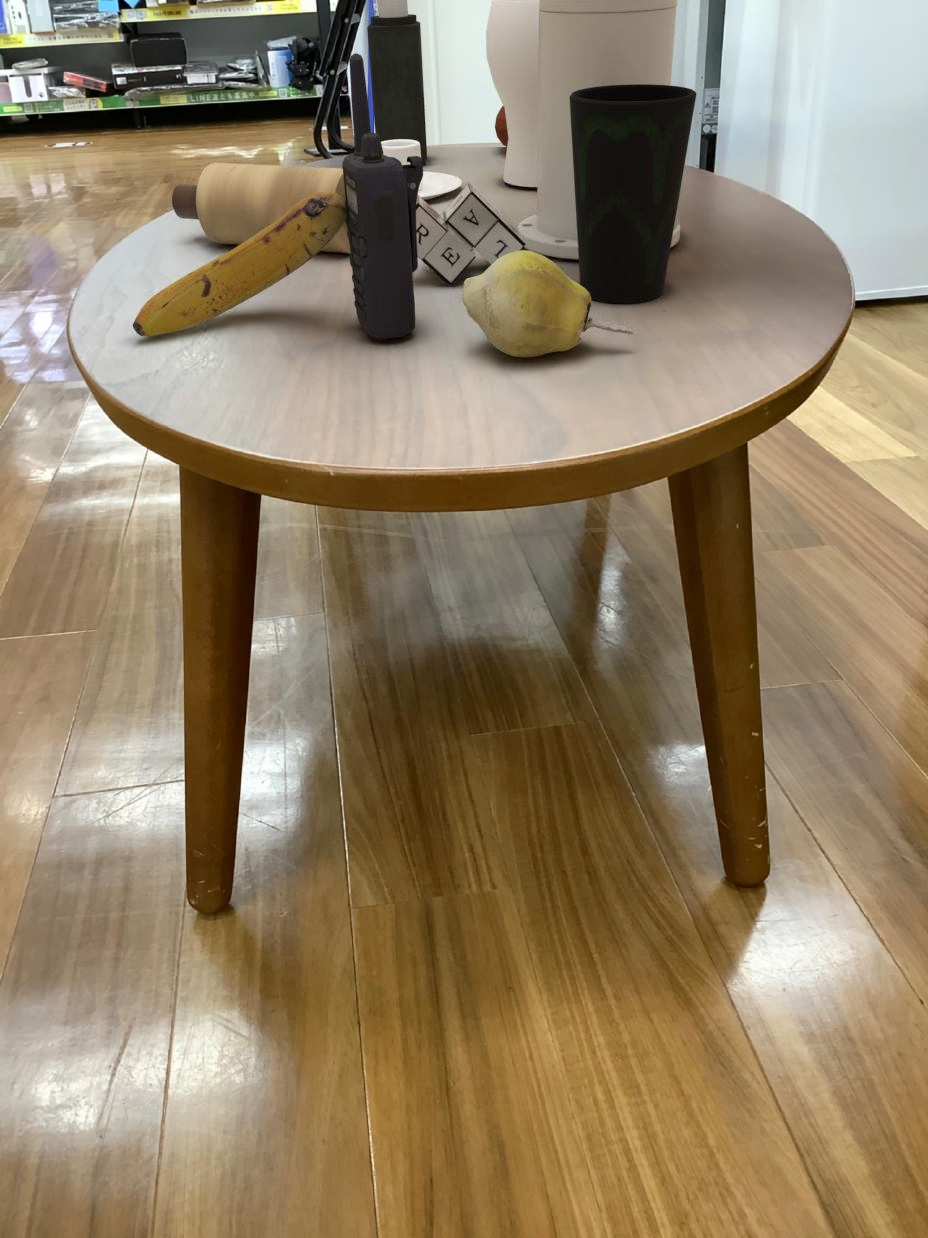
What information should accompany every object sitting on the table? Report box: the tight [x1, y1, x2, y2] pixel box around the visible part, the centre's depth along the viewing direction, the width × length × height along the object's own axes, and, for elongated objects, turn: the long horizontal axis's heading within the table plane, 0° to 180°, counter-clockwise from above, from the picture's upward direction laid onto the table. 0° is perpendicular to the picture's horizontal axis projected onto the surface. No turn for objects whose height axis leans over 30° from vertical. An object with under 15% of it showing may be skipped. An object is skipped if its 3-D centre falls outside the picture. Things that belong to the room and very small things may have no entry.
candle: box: [366, 0, 428, 166], centre depth 100 cm, size 5×5×25 cm
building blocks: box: [416, 182, 526, 287], centre depth 71 cm, size 5×5×8 cm
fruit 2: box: [461, 249, 634, 358], centre depth 58 cm, size 6×6×10 cm
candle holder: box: [381, 139, 463, 201], centre depth 94 cm, size 12×12×4 cm
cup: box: [569, 84, 697, 305], centre depth 65 cm, size 8×8×12 cm
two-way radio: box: [341, 53, 424, 341], centre depth 58 cm, size 6×4×15 cm
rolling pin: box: [171, 162, 351, 254], centre depth 78 cm, size 19×6×6 cm, turn 69°
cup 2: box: [485, 0, 539, 188], centre depth 92 cm, size 11×11×15 cm
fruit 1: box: [132, 192, 347, 337], centre depth 61 cm, size 15×9×3 cm
